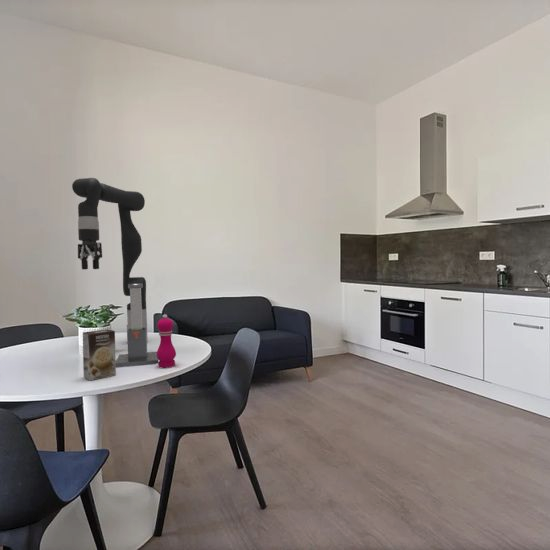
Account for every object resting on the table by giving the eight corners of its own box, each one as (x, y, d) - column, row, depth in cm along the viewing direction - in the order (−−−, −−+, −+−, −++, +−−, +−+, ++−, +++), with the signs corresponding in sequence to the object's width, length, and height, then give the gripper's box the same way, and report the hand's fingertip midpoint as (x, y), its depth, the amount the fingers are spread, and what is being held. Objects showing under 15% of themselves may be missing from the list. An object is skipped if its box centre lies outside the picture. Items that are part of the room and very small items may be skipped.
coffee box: (90, 381, 135) (88, 334, 134) (83, 377, 139) (81, 332, 139) (116, 375, 141) (115, 330, 141) (109, 372, 146) (107, 328, 145)
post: (129, 343, 158) (127, 284, 157) (130, 340, 164) (128, 283, 163) (144, 342, 160) (142, 284, 159) (144, 339, 165) (142, 283, 164)
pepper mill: (159, 369, 148) (157, 316, 147) (155, 365, 154) (153, 314, 154) (178, 366, 151) (176, 314, 150) (173, 362, 157) (172, 312, 157)
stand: (114, 367, 152) (113, 333, 152) (119, 358, 167) (118, 327, 167) (158, 363, 156) (157, 330, 156) (158, 354, 172) (157, 325, 171)
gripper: (107, 227, 156) (108, 268, 157) (88, 230, 165) (90, 269, 165) (88, 226, 150) (90, 269, 151) (70, 229, 159) (72, 269, 159)
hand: (90, 269), depth 158 cm, fingers open, 8 cm apart
